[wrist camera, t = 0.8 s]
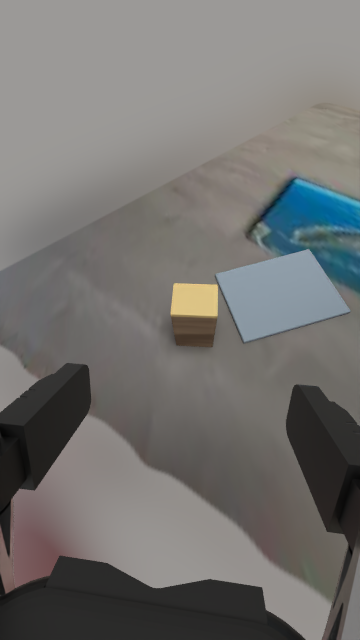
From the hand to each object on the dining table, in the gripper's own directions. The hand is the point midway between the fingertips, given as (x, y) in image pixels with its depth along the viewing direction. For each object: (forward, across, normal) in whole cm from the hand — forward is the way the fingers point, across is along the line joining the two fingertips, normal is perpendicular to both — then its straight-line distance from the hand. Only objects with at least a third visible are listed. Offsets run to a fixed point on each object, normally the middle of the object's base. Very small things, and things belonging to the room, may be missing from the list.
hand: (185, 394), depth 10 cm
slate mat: (+31, -12, +2) cm, 33 cm away
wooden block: (+26, 0, +7) cm, 27 cm away
